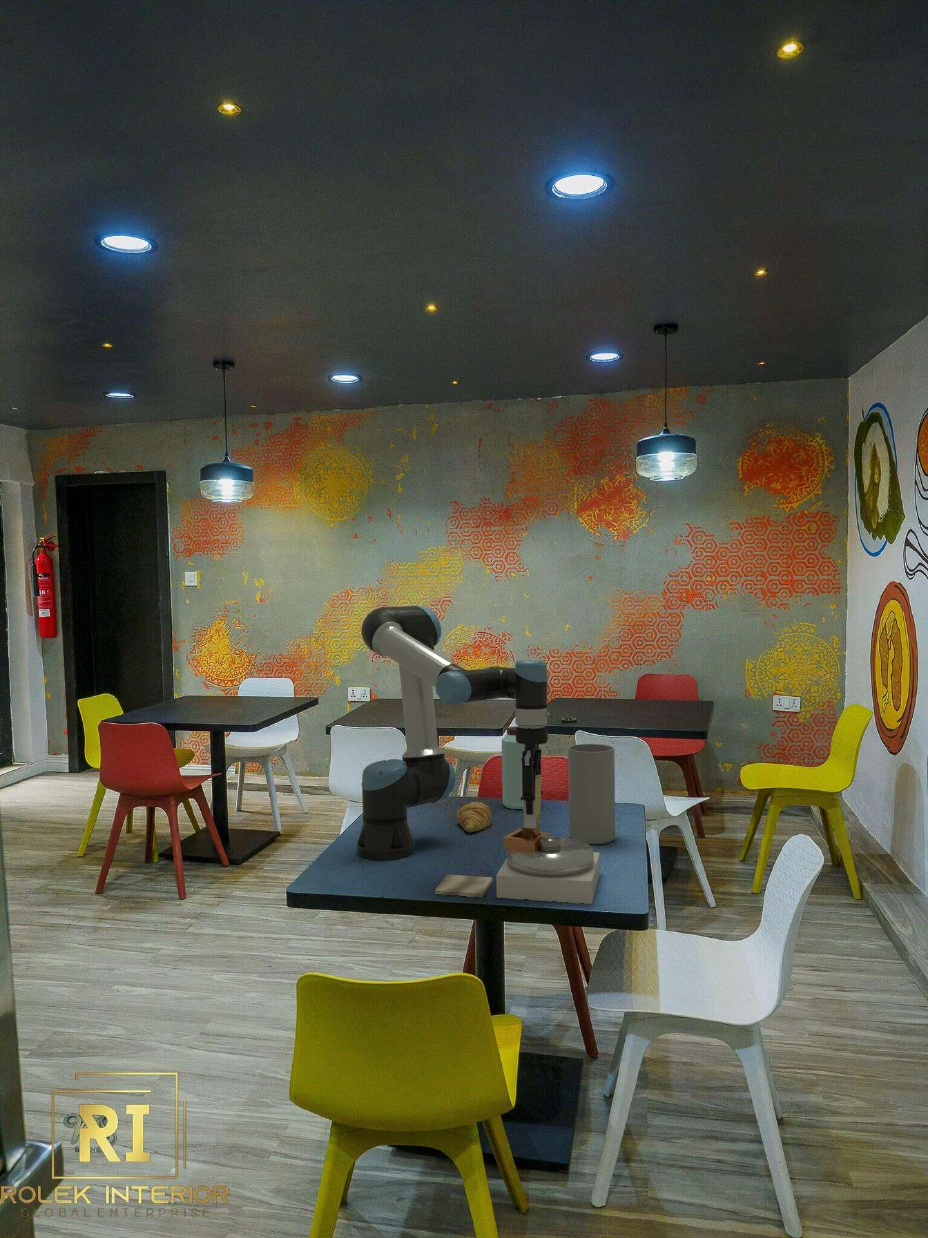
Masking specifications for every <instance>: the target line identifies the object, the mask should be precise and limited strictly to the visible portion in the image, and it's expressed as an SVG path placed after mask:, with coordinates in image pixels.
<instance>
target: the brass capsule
mask: <svg viewBox="0 0 928 1238" xmlns="http://www.w3.org/2000/svg"><path fill="white" fill-rule="evenodd" d="M542 779H543V777H542V774H541V775H536V781H535V800H536V829H535V828H524V804H523V809H522V827H521V828H522V838H523V839H530V840H532V839H534V838H536V837H537V836H539V832H540V827H541V825H540V824H541V804H542V803H541V802H542V799H541V798H542V794H541V791H542V788H541V787H542V782H543V781H542Z"/></svg>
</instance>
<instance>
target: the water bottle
mask: <svg viewBox="0 0 928 1238" xmlns="http://www.w3.org/2000/svg"><path fill="white" fill-rule="evenodd" d="M517 727H518V725H516V726H515V725H514V726H509V727H506V735H504V737H503V738H502V739H501V785H502V791H501V793H502V804H503V805H504V807H505V806H506V807H505V808H507V809H508V808H510V809H509V810H515V809H522V810H523V804H524V800H521V797H522V760H521V758H522V752H523V751H524V750H525V745H524V744H520V743H517V742H516V728H517Z"/></svg>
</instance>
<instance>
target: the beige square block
mask: <svg viewBox="0 0 928 1238" xmlns="http://www.w3.org/2000/svg"><path fill="white" fill-rule="evenodd" d="M600 857H601V853H600V851H599V852H597V851H596V852H595V851H594V865H593V867H592V868H591V869H589V870H588V871H585V872H583V873H579V874H575V875H568V876H536V875H530V874H525V873H521V872H518V871H516V870H513V869H512V868H510V867H509V866H508V865H507V858H506V859H505V860H504V863H502V866H501V867H500V869H499V871H498V872H497V874H496V875H495V877H496V879H495V880H496V881H495V882H496V898H498V899H499V898H500V899H510V900H512V899H514V900H524V899H528V901H537V902H538V901H539V902H541V901H542V902H552V901H557V902H556V903H566V902H568V904H569V903H570V904H580V903H584V904H583V905H592V904H593V902H594V897H595V893H596V890H597V886H598V884H599V883H598V881H599V879H600V875H601V863H600V861H601V858H600ZM529 899H530V900H529Z"/></svg>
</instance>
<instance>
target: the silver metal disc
mask: <svg viewBox="0 0 928 1238" xmlns="http://www.w3.org/2000/svg"><path fill="white" fill-rule="evenodd" d="M502 840H503V845H502V846H503V847H502V849H503V848H504V849H506V859H507V865H508V866H509V867H510V868H512V869H513V870H516V871H518V872H521V873H525V874H530V875H536V876H568V875H575V874H579V873H583V872H585V871H588V870H589V869H591V868H592V867H593V865H594V852H595V850H594V848H593V847H592V846H591V845H590V844H587V843H585V842H582V841H578V840H574V839H571V838H570V837H560V836H557V835H550V833H549V832H544V831H539V836H537V837H536V838H534V839H532V840H530V839H523V838H522V829H521V828H517V829H516V830H514V831H512V832H511V833H508V834H506V835H505V836H504V837H503V838H502Z"/></svg>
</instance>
